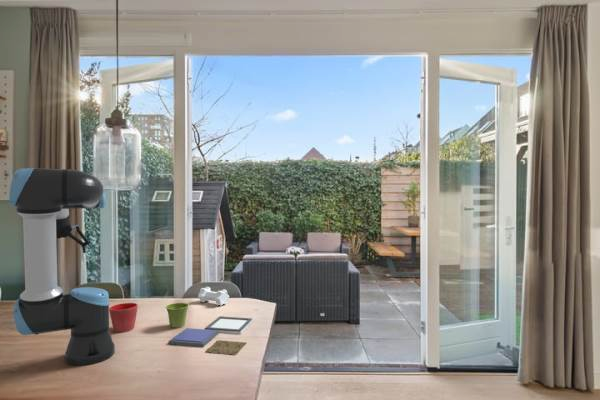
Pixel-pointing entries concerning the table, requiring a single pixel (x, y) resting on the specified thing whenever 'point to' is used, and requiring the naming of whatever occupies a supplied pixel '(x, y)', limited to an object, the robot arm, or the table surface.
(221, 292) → the bone shaped toy
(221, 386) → the table surface
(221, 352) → the brown square mat
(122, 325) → the flower pot
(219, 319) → the marked board
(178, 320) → the plant pot
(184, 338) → the ink pad
